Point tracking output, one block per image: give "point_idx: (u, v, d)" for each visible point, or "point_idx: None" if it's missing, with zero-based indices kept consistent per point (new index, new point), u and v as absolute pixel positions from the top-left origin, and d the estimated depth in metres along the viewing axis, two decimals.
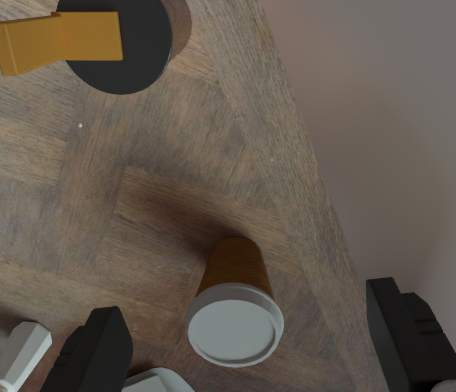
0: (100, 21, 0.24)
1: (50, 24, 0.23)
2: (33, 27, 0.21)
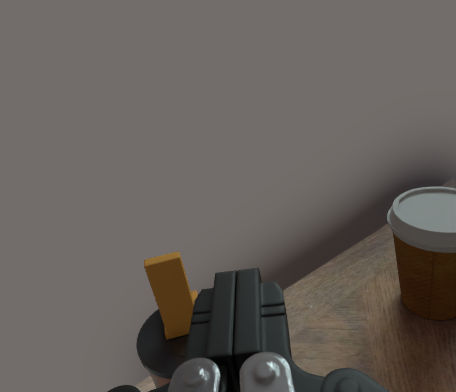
0: None
1: None
2: None
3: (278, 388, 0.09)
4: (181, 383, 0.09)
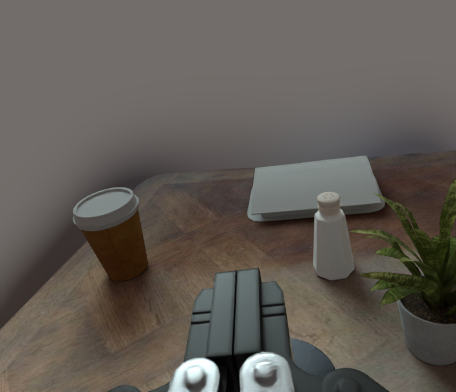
0: None
1: None
2: None
3: (278, 388, 0.09)
4: (181, 383, 0.09)
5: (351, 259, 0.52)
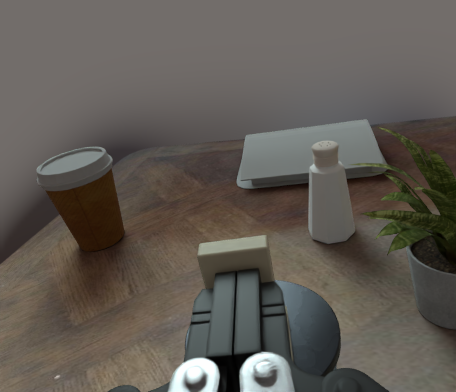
0: None
1: None
2: None
3: (278, 388, 0.09)
4: (181, 383, 0.09)
5: (351, 219, 0.45)
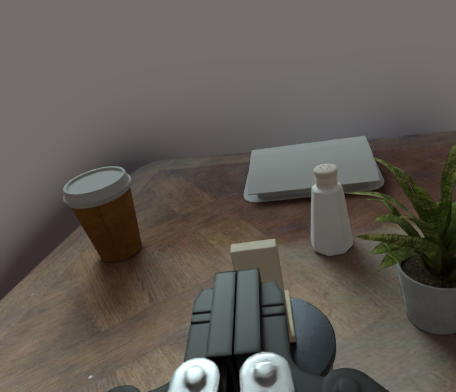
0: None
1: None
2: None
3: (278, 388, 0.09)
4: (181, 383, 0.09)
5: (350, 234, 0.50)
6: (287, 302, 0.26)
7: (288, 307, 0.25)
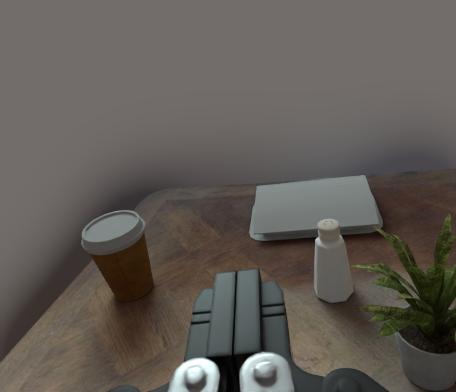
0: None
1: None
2: None
3: (278, 388, 0.09)
4: (181, 383, 0.09)
5: (350, 282, 0.54)
6: None
7: None
